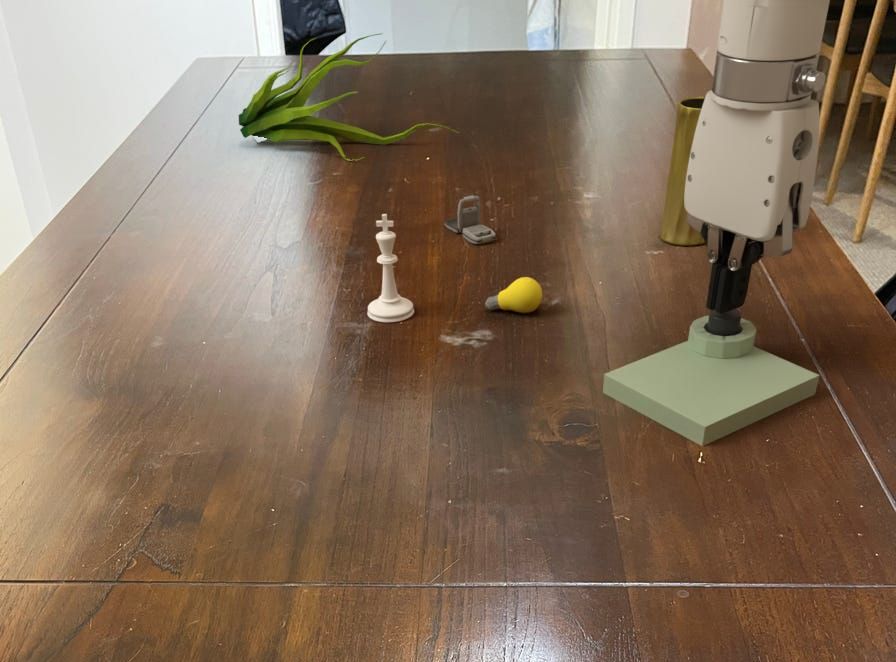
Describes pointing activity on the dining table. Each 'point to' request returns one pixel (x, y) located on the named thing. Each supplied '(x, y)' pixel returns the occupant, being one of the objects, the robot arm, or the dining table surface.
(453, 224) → the strap clip
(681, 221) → the vase
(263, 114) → the decorative plant
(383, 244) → the chess piece
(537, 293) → the light bulb
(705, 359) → the green mounting base
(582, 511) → the dining table surface
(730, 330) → the button
